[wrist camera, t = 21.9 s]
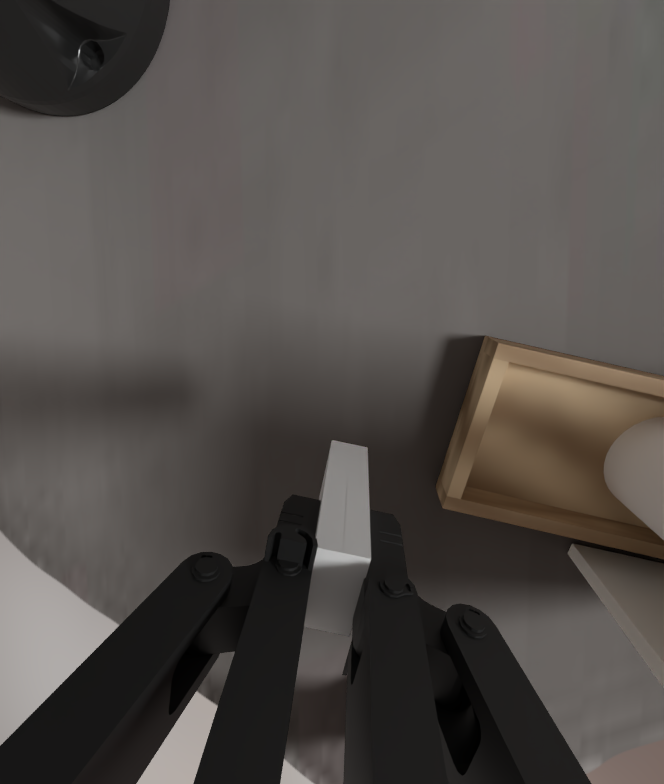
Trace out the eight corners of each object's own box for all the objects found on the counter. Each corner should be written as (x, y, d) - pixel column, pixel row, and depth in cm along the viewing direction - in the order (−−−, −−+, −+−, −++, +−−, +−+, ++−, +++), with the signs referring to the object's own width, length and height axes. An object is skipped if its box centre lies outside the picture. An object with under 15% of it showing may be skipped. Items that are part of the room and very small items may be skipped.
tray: (485, 335, 28) (498, 342, 26) (771, 400, 28) (817, 415, 25) (435, 486, 32) (442, 508, 29) (690, 545, 32) (722, 572, 29)
